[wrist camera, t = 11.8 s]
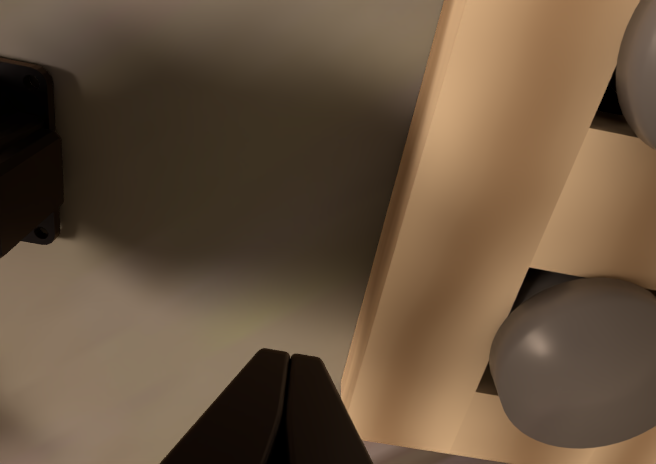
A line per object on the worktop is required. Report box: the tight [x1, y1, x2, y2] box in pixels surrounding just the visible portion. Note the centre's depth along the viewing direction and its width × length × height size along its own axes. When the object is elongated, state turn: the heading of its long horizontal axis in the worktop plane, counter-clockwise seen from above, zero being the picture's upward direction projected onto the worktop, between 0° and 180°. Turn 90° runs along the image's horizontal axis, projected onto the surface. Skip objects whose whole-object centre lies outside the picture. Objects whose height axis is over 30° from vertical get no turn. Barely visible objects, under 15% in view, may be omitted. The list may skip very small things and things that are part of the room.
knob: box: [489, 267, 656, 449], centre depth 19 cm, size 6×6×4 cm
